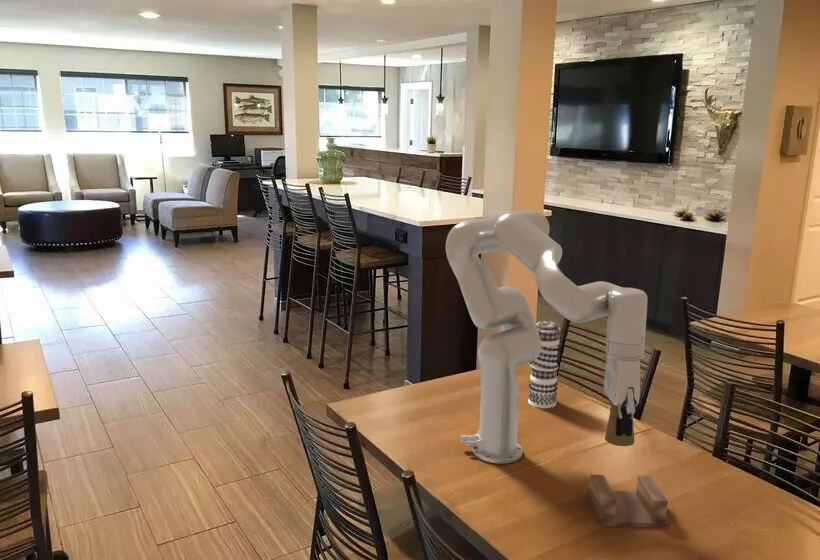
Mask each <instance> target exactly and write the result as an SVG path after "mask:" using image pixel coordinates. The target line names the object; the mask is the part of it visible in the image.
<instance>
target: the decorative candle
mask: <svg viewBox="0 0 820 560" xmlns="http://www.w3.org/2000/svg"><path fill="white" fill-rule="evenodd" d="M535 325H536V327H537V330H538V333H539V336H540V339H541V352H540V355H539V356H538V357H537V358H536V359H535V360H534V361H532V362H529V366H530V367H531V372H530V376H529V377H530V378H529V379H528V382H529V384H528V387H529V389H528V391H527V392H528V396H527V398H528V400H527V402H528V403H527V404H529V405H530V406H532V407H534V408H538V407H539V408H538V409H552V408H554V407H556V406H557V401H558V398H557V396H558V392H557V390H558V385H559V382H558V376H557V375H558V374H557V373H558V369H559V367H560V366H559V364H558V363H559V362H561V359H560V357H561V353H560V351H562V347H561V346H562V344H563V343H562V341H560V331H561V328H560V327H559V326H558V324H557V323H555V322H553V321H550V320H540V321H538V322H535ZM551 407H552V408H551Z"/></svg>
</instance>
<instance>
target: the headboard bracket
mask: <svg viewBox="0 0 820 560" xmlns="http://www.w3.org/2000/svg"><path fill="white" fill-rule="evenodd" d="M636 479H637V480H636V481H637V482H636V490H635V491H629V490H628V491H626V490H625V491H623V490H619V491H618V490H612V488H611V486H610V483H609V482H608V481H607V479H606V476H605V475H604V474H590V475H589V485H588V487H589V488H588V490H586V492H585V493H586V494H585V495H586V497H587V499H588V501H589V504H590V506H591V508H592V511H593V513H594V515H595V517H596V519H597V523H598V524H599V526H600V527H624V528H625V527H626V528H627V527H631V528H633V527H634V528H663V527H668V528H669V525H670V523H669V522H668V520H667V513H668V512H667V511H668V503H669V501H668V499H667V497H666V496H665V494H664V493H663V491H662V489H661V488H660V487H659V485H658V484H657V482H656V481H655V479H654V478H653V476H652V475H637V478H636Z"/></svg>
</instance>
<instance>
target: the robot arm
mask: <svg viewBox="0 0 820 560" xmlns="http://www.w3.org/2000/svg"><path fill="white" fill-rule="evenodd" d="M550 229H551V228H550V224H549V221H548V219H547V217H546V216H545V215H544V214H542V213H541V212H539V211H537V210H535V209H529V210H527V209H525V210H518V211H511V212H507V213H505V214H503V215H500V216H493V217H488V218H487V217H486V218H475V219H470V220H465V221H462V222H459V223H458V224H456V225H454V226H453V227H452V228H451V229H450V230H449V232H448V234H447V237H446V241H445V253H446V258H447V260H448V263H449V266H450V267H451V269H452V272H453V273H454V275H455V277H456V279H457V283H458V285H459V287H460V290H461V294H462V296H463V298H464V302H465V305H466V307H467V308H466V309H467V310H468V313H469V316H470V318H471V321H472V322H473V325H475V327H476V328H479V329H481V330H491V329H494V328H497V327H498V328H499V327H503V329H504V330H501V331H499V332H495V333H492V334H490V335H488V336H486V337H485V338H484V339H483V340H482V341H481V342H480V344H479V346H478V350H477V355H478V356H477V357H478V364H479V371H480V405H479V406H480V407H479V428H478V430H477V431H476V433H473V434H472V435H471V434H470V435H469V434H460V443H465V445H466V447H472V453H473V455H474V456H475V457H476V458H478V459H479V460H482V461H485V462H487V463H492V464H502V465H503V464H510V463H513V462H516V461H518V460H520V459H521V458H522V456H523V448H522V446H521V445H520V443H518V439H517V438H518V424H519V403H520V385H519V384H520V383H519V380H518V378H517V375H516V372H515V369H517V368H519V367H520V366H524V365H527V364H530V362H532V361H534V360H535V359H536V358H537V357H538V356H539V355H540V352H541V339H540V336H539V333H538V330H537V327H536V322H535V319H534V317H533V314H532V311H531V309H530V307H529V304H528V301H527V299H526V298H525V295H523V293H522V292H521V291H520V290H519V289H518V288H516V287H512V286H505V285H504V286H500V287H498V286H497V283H495V280H494V277H493V275H492V274H493V273H492V271H491V269H490V268H489V267H488V266H487V264H486V263H485V262H484V261H483V260H482V259H481V258H480V257H479V255H480V254H484V253H485V254H486V253H490V252H491V253H492V252H497V251H504V250H507V251H508V252H509V254H511V255H512V256H513V257H515V259H517V260H518V261H519V262H521V264H522V265H524V266H525V267H526V268H527V269H528V270H529V271H530V272H531V273H532V274H533V275H534V279H535V283H536V286H537V288H538V290H539V292H540V294H541V296H542V298H543V299H544V300H545V301H546V302H547V304H549V305H550V306H551V308H552V309H554V310H555V311H556V312H557V313H559V315H561V316H562V317H564V318H565V319H567V320H568V321H571V322H573V323H575V324H576V323H578V324H582V323H587V322H590V321H593V320H596V319H600V318H605V317H607V323H606V324H607V325H606V326H607V327H606V344H605V355H606V361H605V370H604V383H603V391H604V393H605V395H606V396H607V398H608V400H609V399H610V400H611V402H612V403H613V404H614V405H615V406H618V417H616V435H617V436H621V435H623V434H626V436H631V435H632V422H633V423H634V414H635V413H636V407H637V406H638V404H639V401H640V393H641V359H644V357H645V344H646V332H647V331H646V330H647V329H646V328H647V314H648V295H647V293H646V292H645V291H644V290H642V289H638V288H635V287H622V286H620V285H616V284H614V283H612V282H607V281H604V280H603V281H602V280H601V281H595V282H589V283H586V284H583V285H582V284H581V285H577V284H575V283H574V282H573V281H572V280H571V279H569V278H568V277H567V276H565V274H564V273H563V272H562V271H561V269H560V268H559V266H558V264H559V262H560V261H561V258H562V255H563V249H562V246H561V245H560V244H559V243H558V242H556V241H555V240H554V239H553V238H551V236H549V234H550ZM624 401H626V404H622V403H623V402H624ZM609 405H610V408H609V411H610V410H611V404H610V403H609ZM622 407H627V408H626V409H624V410H623V412H622Z"/></svg>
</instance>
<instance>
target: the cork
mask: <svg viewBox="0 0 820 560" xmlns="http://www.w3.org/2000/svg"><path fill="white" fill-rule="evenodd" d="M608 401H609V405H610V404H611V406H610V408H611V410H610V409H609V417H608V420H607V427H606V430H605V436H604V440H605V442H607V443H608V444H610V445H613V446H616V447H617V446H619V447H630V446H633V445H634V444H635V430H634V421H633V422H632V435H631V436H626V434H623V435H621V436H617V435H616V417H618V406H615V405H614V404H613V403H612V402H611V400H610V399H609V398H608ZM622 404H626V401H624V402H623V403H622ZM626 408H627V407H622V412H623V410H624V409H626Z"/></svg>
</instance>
